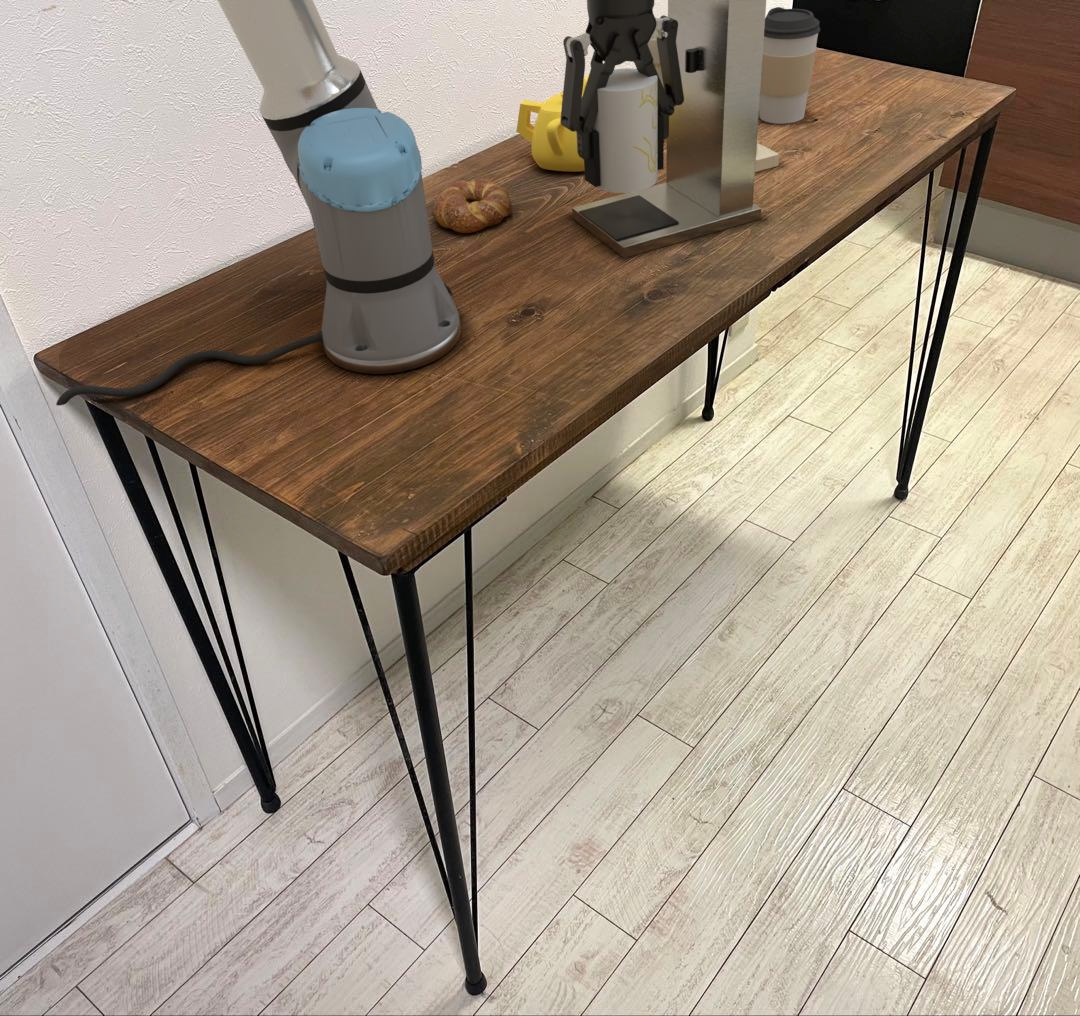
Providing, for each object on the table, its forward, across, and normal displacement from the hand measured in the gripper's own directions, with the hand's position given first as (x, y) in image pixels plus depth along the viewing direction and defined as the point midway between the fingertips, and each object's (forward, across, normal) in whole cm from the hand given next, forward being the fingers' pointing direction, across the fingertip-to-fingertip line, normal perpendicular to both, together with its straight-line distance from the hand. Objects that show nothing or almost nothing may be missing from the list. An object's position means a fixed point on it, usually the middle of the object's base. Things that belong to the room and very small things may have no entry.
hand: (624, 174), depth 126 cm
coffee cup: (+8, +40, +22) cm, 46 cm away
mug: (+8, +32, +41) cm, 53 cm away
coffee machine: (+7, +7, 0) cm, 10 cm away
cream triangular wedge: (+7, +23, +10) cm, 26 cm away
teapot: (+7, +6, +25) cm, 27 cm away
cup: (+1, 0, 0) cm, 1 cm away
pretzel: (+7, -15, +15) cm, 23 cm away
